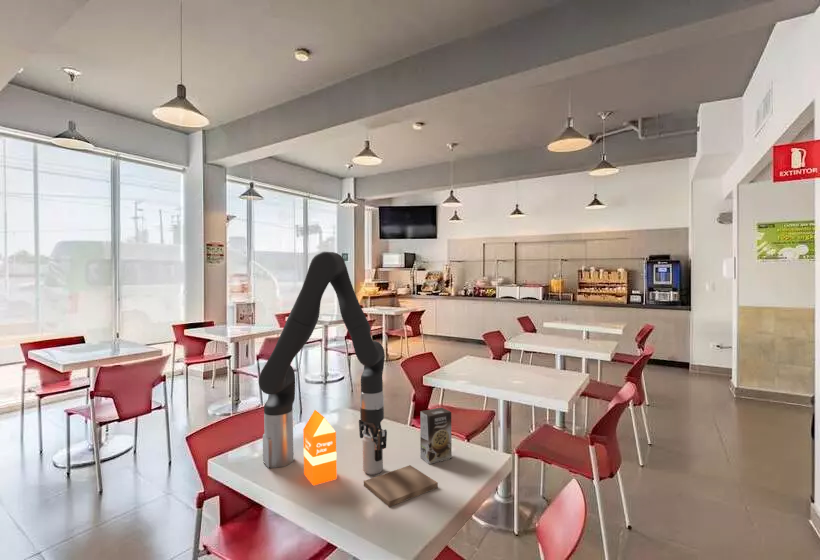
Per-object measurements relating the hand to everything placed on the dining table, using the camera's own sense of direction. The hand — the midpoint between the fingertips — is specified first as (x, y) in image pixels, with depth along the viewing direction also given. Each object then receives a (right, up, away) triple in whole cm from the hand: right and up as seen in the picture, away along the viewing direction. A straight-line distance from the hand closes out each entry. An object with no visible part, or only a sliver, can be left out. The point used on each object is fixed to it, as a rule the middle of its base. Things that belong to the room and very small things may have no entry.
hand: (372, 456), depth 133 cm
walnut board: (+9, -5, -10) cm, 14 cm away
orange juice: (-16, -5, -3) cm, 17 cm away
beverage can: (0, -5, 0) cm, 5 cm away
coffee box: (+21, -4, +9) cm, 23 cm away
